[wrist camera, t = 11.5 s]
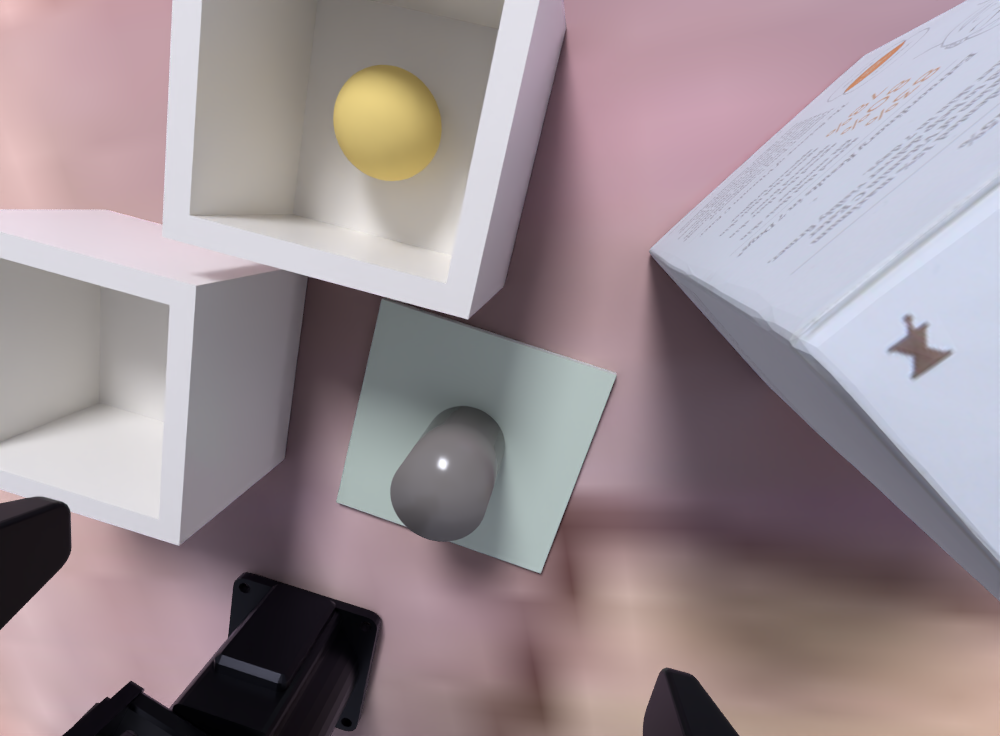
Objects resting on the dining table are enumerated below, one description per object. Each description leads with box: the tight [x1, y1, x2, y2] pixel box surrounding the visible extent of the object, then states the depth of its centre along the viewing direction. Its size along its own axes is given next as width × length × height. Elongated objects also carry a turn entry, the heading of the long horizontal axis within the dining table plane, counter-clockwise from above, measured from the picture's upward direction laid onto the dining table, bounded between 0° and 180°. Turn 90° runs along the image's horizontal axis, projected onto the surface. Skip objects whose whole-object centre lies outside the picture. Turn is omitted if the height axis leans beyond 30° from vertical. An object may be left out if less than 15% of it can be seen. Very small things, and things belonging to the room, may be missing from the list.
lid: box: [336, 298, 616, 574], centre depth 19 cm, size 9×9×5 cm
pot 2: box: [162, 0, 566, 319], centre depth 15 cm, size 8×8×6 cm
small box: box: [649, 0, 1000, 601], centre depth 11 cm, size 8×6×13 cm
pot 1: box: [0, 209, 308, 546], centre depth 18 cm, size 8×8×6 cm
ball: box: [333, 65, 442, 181], centre depth 16 cm, size 3×3×3 cm
